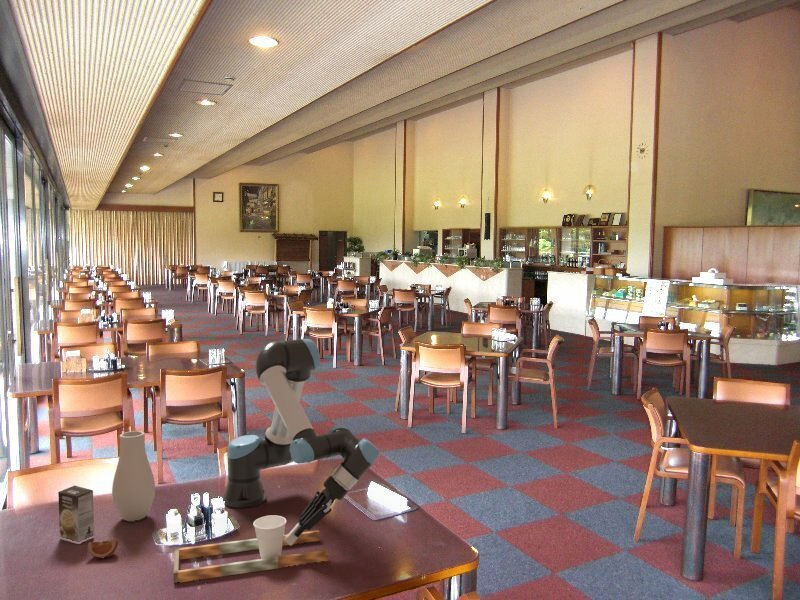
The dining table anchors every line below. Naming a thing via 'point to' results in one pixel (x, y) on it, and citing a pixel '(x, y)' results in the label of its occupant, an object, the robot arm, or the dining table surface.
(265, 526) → the cup
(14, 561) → the dining table surface
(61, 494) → the coffee box
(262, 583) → the dining table surface
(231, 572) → the track
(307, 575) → the dining table surface
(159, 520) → the dining table surface
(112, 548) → the fruit slice
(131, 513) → the vase
